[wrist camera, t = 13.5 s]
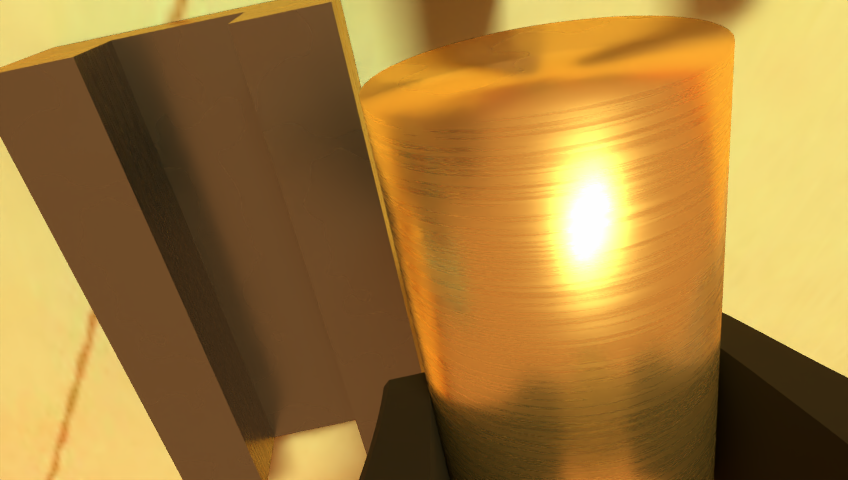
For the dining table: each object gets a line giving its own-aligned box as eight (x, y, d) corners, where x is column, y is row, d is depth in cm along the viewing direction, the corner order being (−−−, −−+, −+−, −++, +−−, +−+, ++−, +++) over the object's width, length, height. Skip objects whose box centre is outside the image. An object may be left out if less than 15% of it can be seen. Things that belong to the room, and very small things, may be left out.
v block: (428, 372, 20) (441, 452, 17) (221, 415, 20) (196, 504, 17) (337, -13, 15) (331, 1, 12) (52, 47, 15) (-30, 79, 12)
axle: (698, 520, 12) (716, 753, 9) (504, 493, 14) (458, 687, 10) (716, 0, 8) (764, 95, 4) (421, 40, 9) (295, 135, 6)
